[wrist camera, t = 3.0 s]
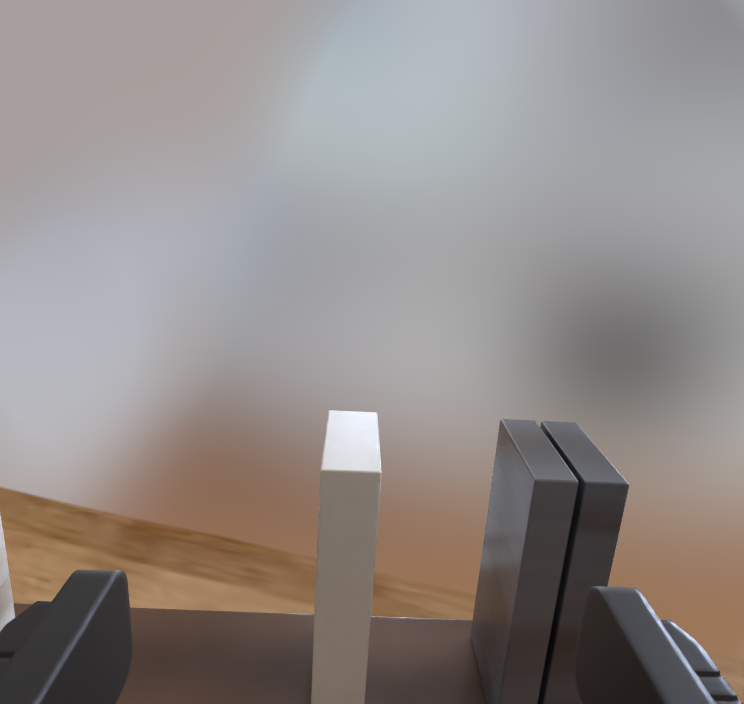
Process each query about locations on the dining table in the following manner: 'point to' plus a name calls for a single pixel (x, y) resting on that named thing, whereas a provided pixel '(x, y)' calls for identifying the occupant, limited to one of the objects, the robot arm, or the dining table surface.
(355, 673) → the white book
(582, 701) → the robot arm
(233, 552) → the dining table surface
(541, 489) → the book rack
